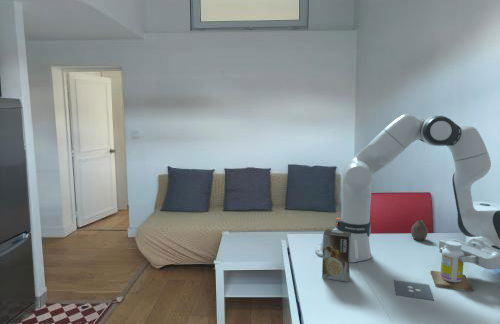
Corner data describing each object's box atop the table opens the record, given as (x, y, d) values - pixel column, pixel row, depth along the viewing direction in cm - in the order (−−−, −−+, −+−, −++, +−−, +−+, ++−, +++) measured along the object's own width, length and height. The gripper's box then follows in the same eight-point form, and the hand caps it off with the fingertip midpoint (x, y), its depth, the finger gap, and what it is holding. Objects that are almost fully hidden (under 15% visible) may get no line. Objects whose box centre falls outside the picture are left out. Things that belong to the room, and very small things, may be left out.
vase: (428, 242, 167) (430, 223, 166) (412, 241, 168) (413, 222, 167) (424, 237, 173) (426, 219, 172) (409, 236, 175) (410, 218, 174)
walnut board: (435, 286, 123) (435, 283, 123) (430, 273, 134) (430, 270, 133) (472, 291, 120) (472, 288, 120) (464, 277, 130) (464, 274, 130)
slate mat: (396, 295, 117) (396, 294, 117) (394, 280, 127) (394, 279, 127) (434, 300, 113) (434, 300, 113) (428, 285, 124) (429, 284, 124)
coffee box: (350, 275, 131) (352, 231, 129) (348, 282, 125) (350, 237, 123) (324, 270, 135) (326, 228, 133) (321, 277, 129) (322, 233, 127)
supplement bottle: (459, 276, 129) (462, 241, 127) (463, 284, 122) (467, 247, 121) (438, 273, 131) (441, 238, 129) (441, 281, 125) (444, 245, 123)
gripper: (456, 233, 139) (427, 236, 134) (509, 252, 120) (478, 256, 115) (454, 249, 140) (426, 253, 135) (507, 270, 121) (476, 276, 116)
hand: (450, 255), depth 125 cm, fingers closed on supplement bottle, 6 cm apart
